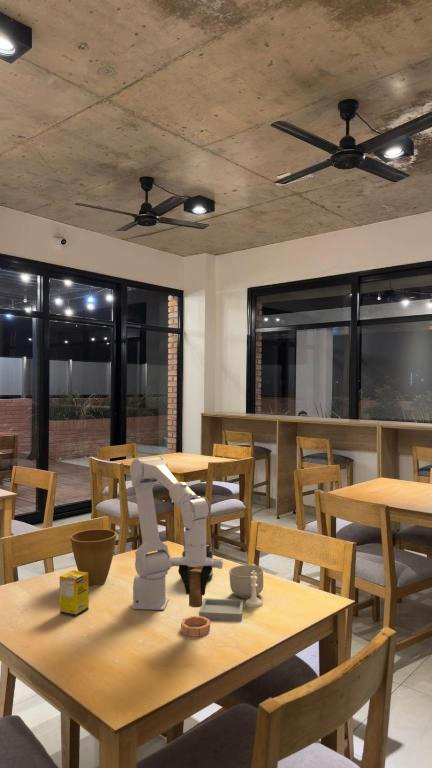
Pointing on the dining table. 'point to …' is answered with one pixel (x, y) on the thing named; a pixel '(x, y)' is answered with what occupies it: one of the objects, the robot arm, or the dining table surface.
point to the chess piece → (253, 593)
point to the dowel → (195, 588)
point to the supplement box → (74, 593)
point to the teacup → (245, 580)
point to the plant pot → (94, 553)
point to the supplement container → (208, 554)
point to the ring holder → (195, 630)
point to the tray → (222, 609)
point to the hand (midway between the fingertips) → (195, 593)
